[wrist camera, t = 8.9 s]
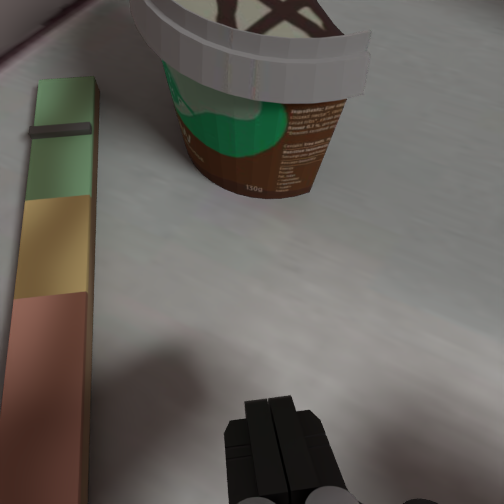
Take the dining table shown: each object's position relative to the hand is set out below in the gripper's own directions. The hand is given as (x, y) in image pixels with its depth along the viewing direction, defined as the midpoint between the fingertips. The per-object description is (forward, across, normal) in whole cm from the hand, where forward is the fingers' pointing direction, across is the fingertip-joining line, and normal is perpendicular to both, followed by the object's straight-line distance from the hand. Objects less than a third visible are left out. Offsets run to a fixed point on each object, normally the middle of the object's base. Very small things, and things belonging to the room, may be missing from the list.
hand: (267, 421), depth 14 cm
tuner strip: (+8, +8, -2) cm, 12 cm away
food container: (+13, 0, -7) cm, 15 cm away
